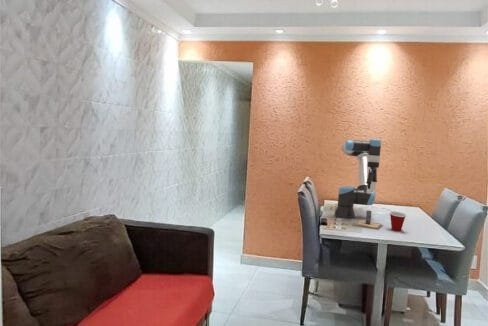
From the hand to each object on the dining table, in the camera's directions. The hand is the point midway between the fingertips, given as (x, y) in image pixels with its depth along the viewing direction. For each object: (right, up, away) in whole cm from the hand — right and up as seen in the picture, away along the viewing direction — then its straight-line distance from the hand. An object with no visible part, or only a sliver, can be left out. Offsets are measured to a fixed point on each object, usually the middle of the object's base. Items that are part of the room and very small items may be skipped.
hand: (370, 192), depth 290 cm
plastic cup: (+15, -26, -7) cm, 30 cm away
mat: (-1, -24, +2) cm, 24 cm away
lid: (-1, -23, +2) cm, 23 cm away
